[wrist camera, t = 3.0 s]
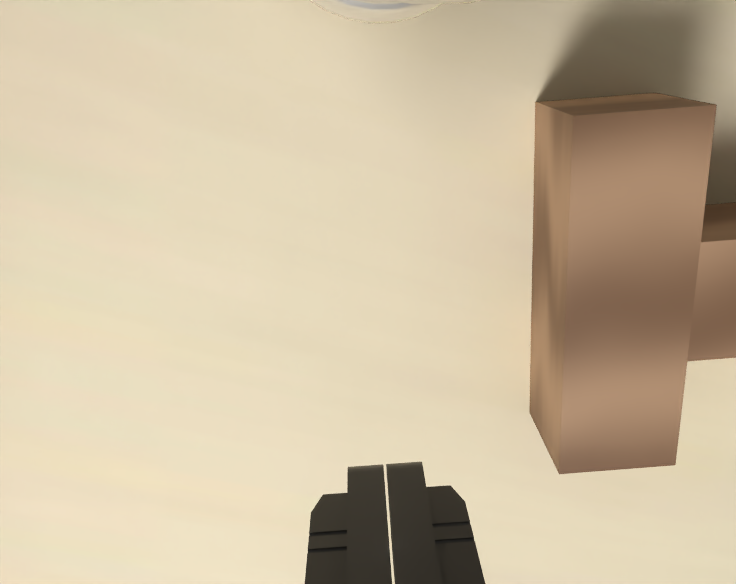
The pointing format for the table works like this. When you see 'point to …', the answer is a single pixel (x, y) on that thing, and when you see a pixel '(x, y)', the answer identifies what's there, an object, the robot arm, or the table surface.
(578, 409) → the t block
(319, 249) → the table surface
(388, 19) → the plastic bottle
